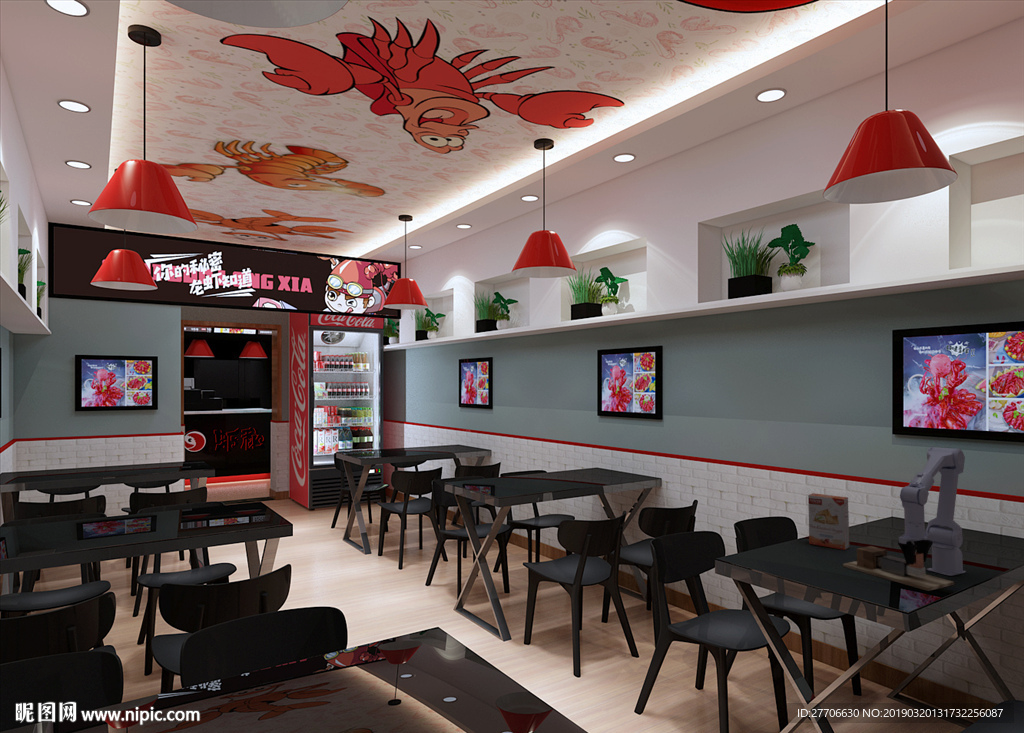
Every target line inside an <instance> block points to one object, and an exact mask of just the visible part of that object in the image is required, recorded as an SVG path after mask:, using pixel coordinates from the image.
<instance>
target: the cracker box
mask: <svg viewBox="0 0 1024 733" xmlns="http://www.w3.org/2000/svg"><path fill="white" fill-rule="evenodd" d="M807 498H808V501H807V502H808V542H809V545H812V546H813V545H814V546H820V547H827V548H831V549H837V550H842V551H846V550H847V549H849V548H850V524H849V522H850V519H849V517H850V516H849V497H847V496H839V495H833V494H832V495H829V494H822V493H814V492H813V493H809V494H808V497H807Z"/></svg>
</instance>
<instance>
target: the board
mask: <svg viewBox="0 0 1024 733" xmlns="http://www.w3.org/2000/svg"><path fill="white" fill-rule="evenodd" d="M842 567H843V568H847V569H850V570H854V571H858V572H861V573H864V574H867V575H871V576H875V577H878V578H882V579H885V580H888V581H891V582H896V583H899V584H902V585H906V586H909V587H913V588H917V589H920V590H924V591H927V592H930V591H933V590H939V589H942V588H945V587H949V586H954V585H955V581H953V580H948V579H945V578H941V577H938V576H933V575H930V574H926V573H925V574H926V576H925V577H921V578H919V577H916V576H912V575H910V576H906V577H903V576H899V575H896V574H892V573H889V572H885V571H881V568H878V569H869V568H865V567H862V566H858V565H857V560H855V561H850V562H845V563H842Z"/></svg>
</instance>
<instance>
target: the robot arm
mask: <svg viewBox="0 0 1024 733" xmlns="http://www.w3.org/2000/svg"><path fill="white" fill-rule="evenodd" d="M926 459H927V461H926V463H925V466H924V467H923V469H922V471H920V472H917V473H916V474H915V476H914V477H913V478H912V479H911V481H910V483H909V484H908V485H906V486H904V487H902V488H901V490H900V494H899V497H900V501H901V505H902V506H901V507H902V508H903V512H904V513H903V514H904V515H903V516H904V534H902V535H901V536H899V537H898V541H897V546H899V548H900V550H901V552H902V554H903V557H904V559H905V561H906V563H908V564H911V565H913V564H914V557H915V552H920V553H923V560H924V563H926V561H927V557H928V555H929V551H930V549H931V559H932V560H931V561H932V564H931V566H932V567H929V568H928V567H927V568H926V570H927V571H929V572H934V573H937V574H941V575H944V576H948V577H951V576H957V575H960V574H965V573H966V570H964V568H963V567H964V566H963V563H964V562H963V552H962V550H961V549H960V547H961V546H962V545H963V541H964V538H963V528H962V527H961V525H959V524H958V523H957V522H956V521H955V520H954V518H955V508H956V499H957V493H958V491H957V490H958V483H959V482H958V481H959V476H960V475H961V474H962V473H964V469H965V462H966V461H965V459H966V458H965V454H964V452H963V450H962V449H961V448H951V447H950V448H949V447H948V448H947V447H937V446H930V447H929V448H927V451H926ZM938 473H940V476H941V477H940V484H939V492H938V502H937V509H936V516H935V518H932V519H931V520H929V521H928V523H927V526H925V522H926V521H925V505H926V504H927V502H928V501H929V500H928V499H929V498H928V497H929V494H930V493H929V491H930V490H931V488H932V487H933V486H934V483H935V479H934V477H935V476H936V475H937V474H938ZM925 527H926V528H925Z"/></svg>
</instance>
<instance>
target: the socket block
mask: <svg viewBox="0 0 1024 733" xmlns="http://www.w3.org/2000/svg"><path fill="white" fill-rule="evenodd" d="M876 556H882V557H883V556H888V551H887V549H885V548H882V547H881V548H880V547H878V546H877V547H876V546H874V545H873V546H872V545H868V546H864V547H858V548H856V561H857V565H858V566H862V567H865V568H869V569H878V568H881V567H879V566H876Z"/></svg>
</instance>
